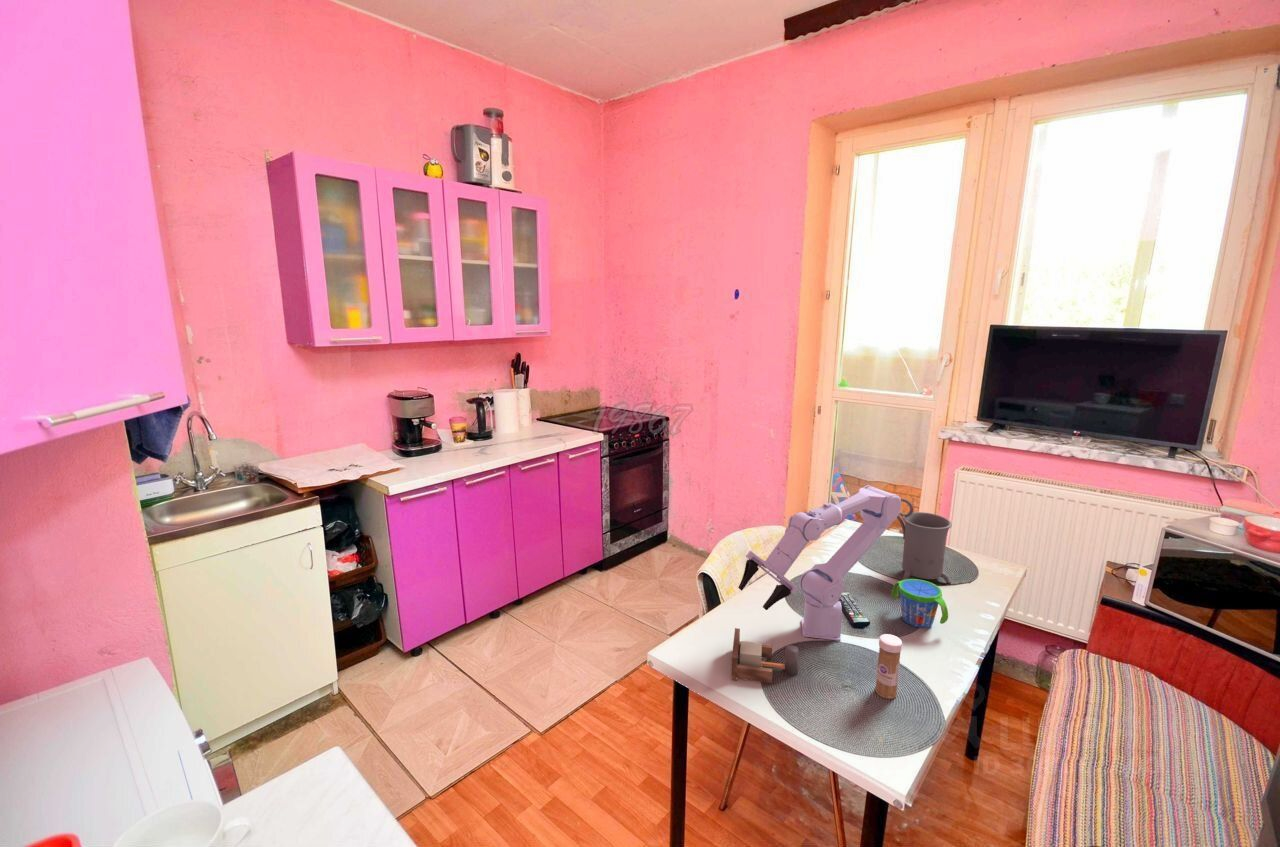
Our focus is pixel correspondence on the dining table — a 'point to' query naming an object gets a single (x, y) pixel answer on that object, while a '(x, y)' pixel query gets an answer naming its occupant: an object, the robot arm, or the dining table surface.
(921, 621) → the snack cup
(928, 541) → the mug
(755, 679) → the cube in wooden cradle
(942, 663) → the dining table surface
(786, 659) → the multicoloured piece
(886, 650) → the sprinkles bottle
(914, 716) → the dining table surface
